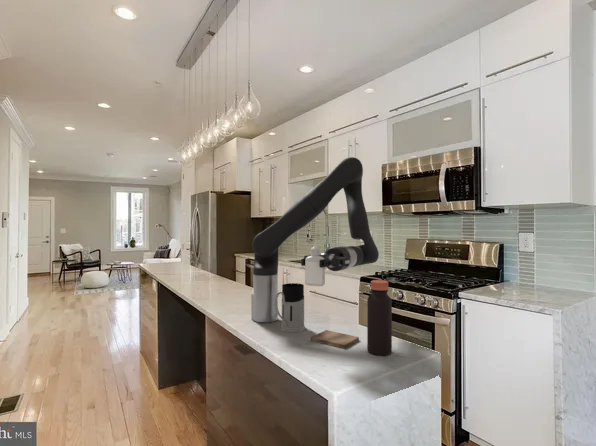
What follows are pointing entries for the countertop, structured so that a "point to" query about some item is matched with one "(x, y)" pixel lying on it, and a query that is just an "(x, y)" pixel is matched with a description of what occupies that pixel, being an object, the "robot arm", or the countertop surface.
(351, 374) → the countertop surface
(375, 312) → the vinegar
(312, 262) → the eye dropper bottle
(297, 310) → the glass holder
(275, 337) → the countertop surface
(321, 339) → the walnut board
